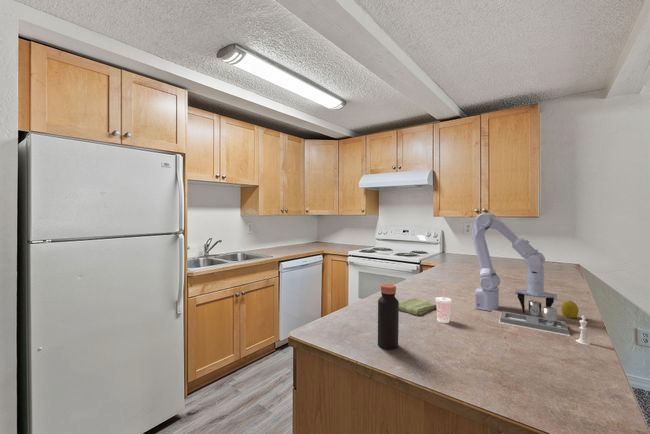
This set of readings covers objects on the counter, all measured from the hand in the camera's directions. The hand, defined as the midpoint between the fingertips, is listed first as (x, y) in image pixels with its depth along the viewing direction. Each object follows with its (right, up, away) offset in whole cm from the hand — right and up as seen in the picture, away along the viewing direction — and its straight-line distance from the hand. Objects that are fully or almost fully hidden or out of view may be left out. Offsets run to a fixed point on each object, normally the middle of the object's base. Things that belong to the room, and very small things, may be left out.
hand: (534, 313), depth 125 cm
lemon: (+14, -2, -1) cm, 14 cm away
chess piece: (-1, -3, -25) cm, 25 cm away
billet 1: (0, -2, 0) cm, 2 cm away
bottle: (-67, -2, -26) cm, 72 cm away
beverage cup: (-40, -2, -3) cm, 40 cm away
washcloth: (-46, -2, +12) cm, 48 cm away
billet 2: (-2, -1, -12) cm, 12 cm away
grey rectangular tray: (-7, -2, -8) cm, 11 cm away
